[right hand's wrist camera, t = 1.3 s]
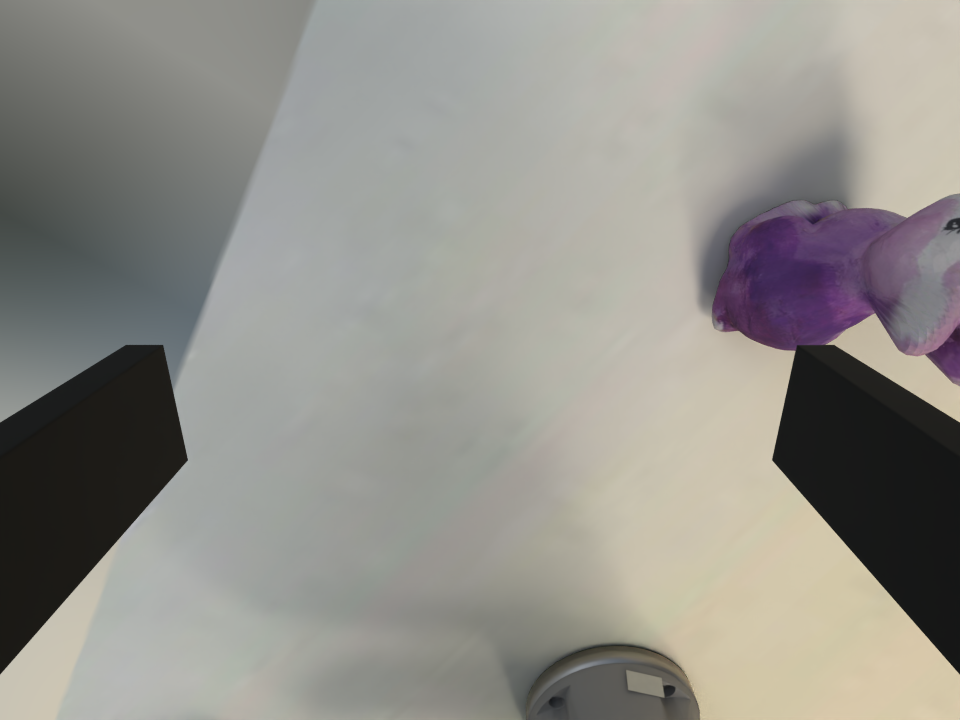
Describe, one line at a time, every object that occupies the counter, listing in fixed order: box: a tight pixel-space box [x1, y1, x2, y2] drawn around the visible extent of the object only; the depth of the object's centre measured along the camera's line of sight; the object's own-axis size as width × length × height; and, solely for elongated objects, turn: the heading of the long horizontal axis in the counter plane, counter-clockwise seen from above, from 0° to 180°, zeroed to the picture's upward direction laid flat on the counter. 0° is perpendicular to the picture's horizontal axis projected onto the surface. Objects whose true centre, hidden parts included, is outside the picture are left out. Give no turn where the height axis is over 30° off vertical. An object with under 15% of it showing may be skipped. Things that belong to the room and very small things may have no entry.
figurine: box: [712, 194, 960, 386], centre depth 31 cm, size 9×10×15 cm
